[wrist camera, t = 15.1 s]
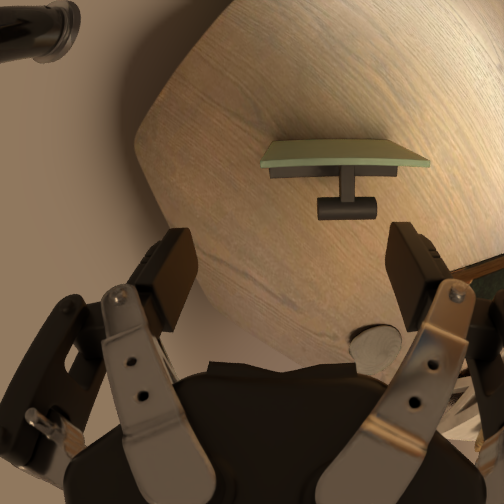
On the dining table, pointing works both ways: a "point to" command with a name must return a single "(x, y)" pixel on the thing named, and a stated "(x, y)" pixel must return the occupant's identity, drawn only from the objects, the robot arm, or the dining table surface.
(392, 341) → the seashell
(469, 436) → the wooden side table
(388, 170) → the stand
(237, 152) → the dining table surface
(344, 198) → the sign
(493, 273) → the book
